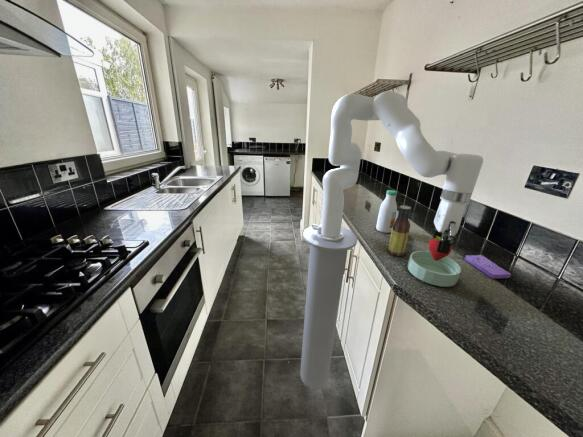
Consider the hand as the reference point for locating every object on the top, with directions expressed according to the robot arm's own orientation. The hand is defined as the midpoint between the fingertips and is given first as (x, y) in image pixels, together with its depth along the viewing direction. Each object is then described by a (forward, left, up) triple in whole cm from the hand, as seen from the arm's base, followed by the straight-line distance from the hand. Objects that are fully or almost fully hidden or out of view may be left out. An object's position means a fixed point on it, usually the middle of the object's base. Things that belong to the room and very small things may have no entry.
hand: (439, 246), depth 77 cm
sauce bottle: (-11, +11, -11) cm, 19 cm away
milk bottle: (-16, +33, -11) cm, 38 cm away
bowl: (0, 0, -11) cm, 11 cm away
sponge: (+20, +13, -11) cm, 26 cm away
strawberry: (0, 0, -5) cm, 5 cm away
